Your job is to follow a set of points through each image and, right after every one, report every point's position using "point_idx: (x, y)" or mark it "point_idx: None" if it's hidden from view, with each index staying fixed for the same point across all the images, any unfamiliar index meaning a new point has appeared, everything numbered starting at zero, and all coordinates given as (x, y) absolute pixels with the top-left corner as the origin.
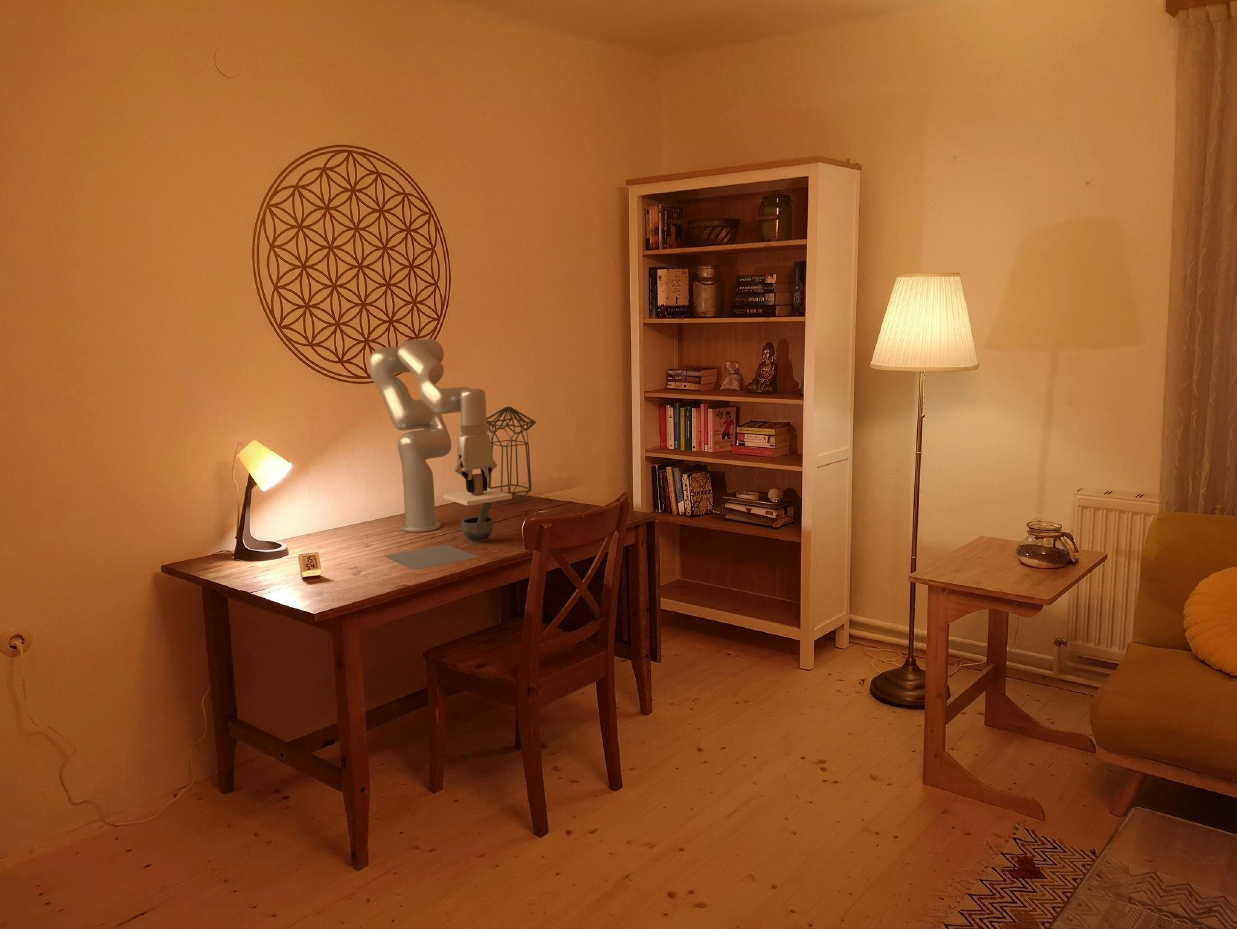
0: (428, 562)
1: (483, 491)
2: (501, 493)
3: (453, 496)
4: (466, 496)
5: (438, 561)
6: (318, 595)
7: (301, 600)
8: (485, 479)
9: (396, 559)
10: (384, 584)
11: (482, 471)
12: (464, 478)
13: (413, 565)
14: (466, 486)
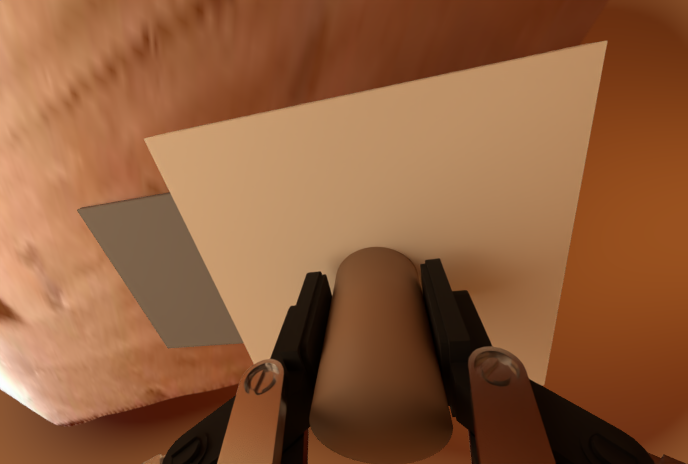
0: (198, 320)
1: (464, 208)
2: (521, 332)
3: (216, 255)
4: (294, 298)
5: (220, 324)
6: (28, 373)
7: (10, 380)
8: (452, 404)
9: (120, 262)
10: (125, 376)
11: (496, 429)
12: (252, 370)
13: (166, 324)
14: (286, 325)
